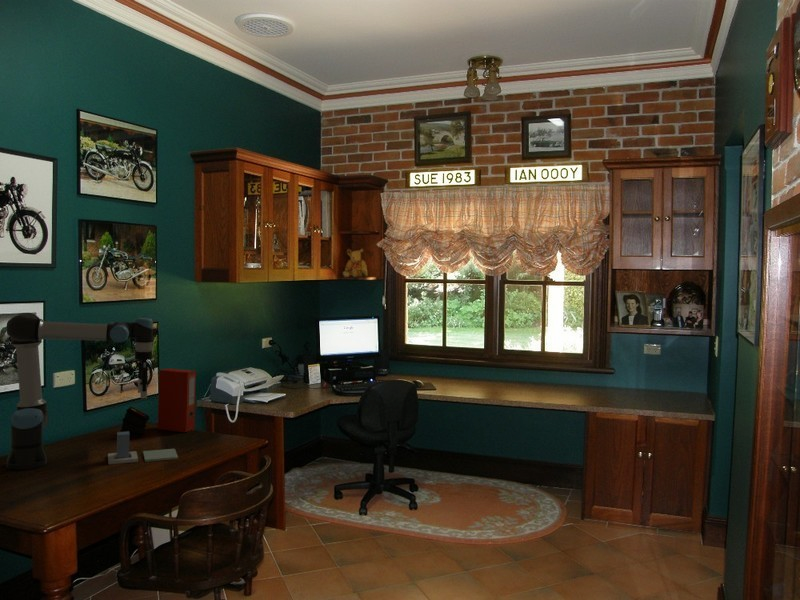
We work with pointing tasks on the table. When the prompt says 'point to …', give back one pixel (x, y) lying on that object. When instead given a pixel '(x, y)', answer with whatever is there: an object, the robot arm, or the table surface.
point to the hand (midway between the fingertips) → (142, 395)
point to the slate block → (123, 444)
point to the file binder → (176, 400)
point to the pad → (160, 455)
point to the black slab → (134, 422)
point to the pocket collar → (122, 460)
